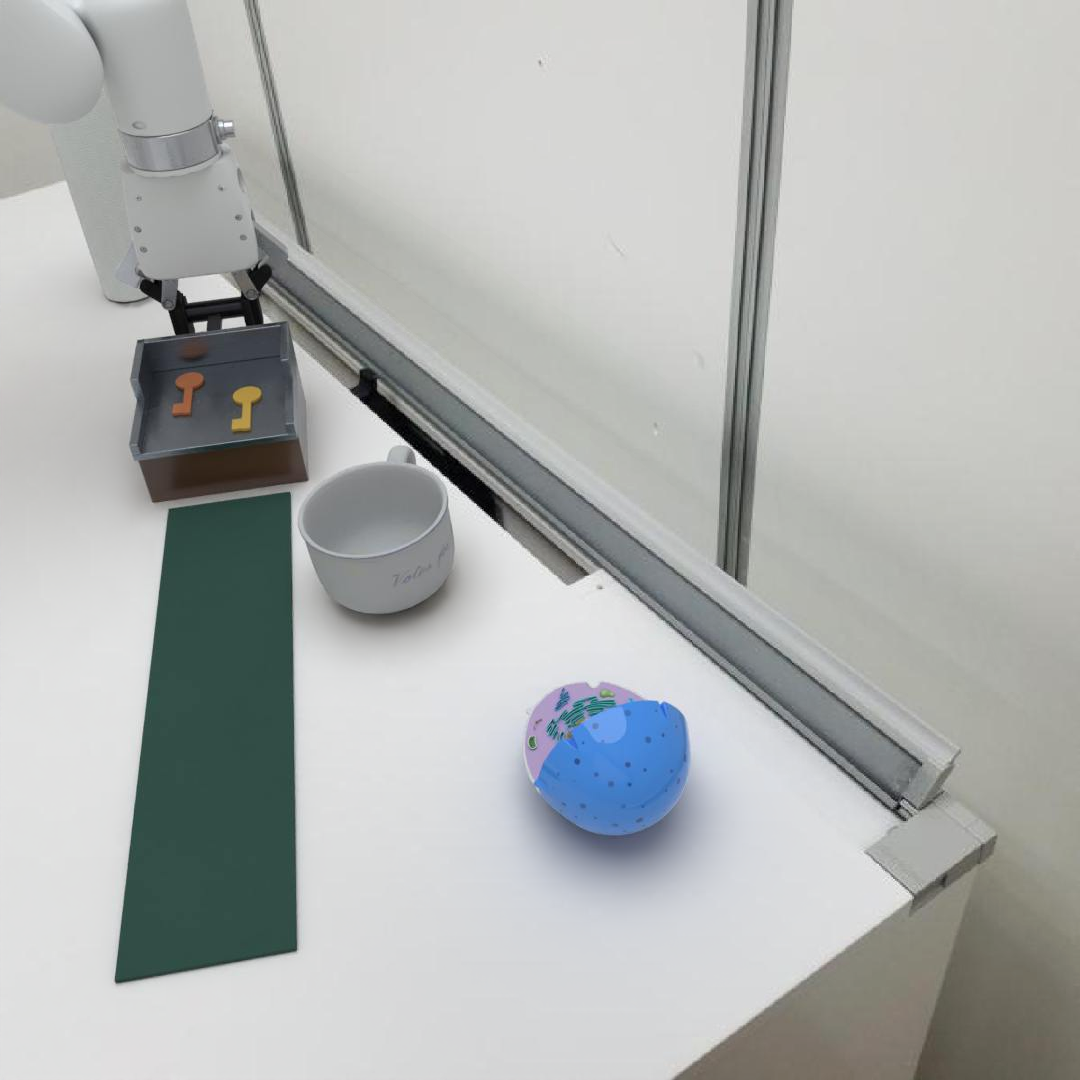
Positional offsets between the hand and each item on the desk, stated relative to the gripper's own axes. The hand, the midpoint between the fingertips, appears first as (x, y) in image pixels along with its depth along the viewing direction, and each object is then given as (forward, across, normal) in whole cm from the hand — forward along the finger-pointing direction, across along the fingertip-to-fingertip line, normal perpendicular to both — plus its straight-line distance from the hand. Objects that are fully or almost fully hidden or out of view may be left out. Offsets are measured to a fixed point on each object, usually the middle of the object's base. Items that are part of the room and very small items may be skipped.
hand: (222, 334), depth 105 cm
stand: (+6, 0, +10) cm, 12 cm away
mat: (+6, 0, +38) cm, 39 cm away
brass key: (0, -2, +12) cm, 13 cm away
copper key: (0, +2, +9) cm, 9 cm away
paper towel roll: (+6, +11, -23) cm, 26 cm away
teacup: (+6, -13, +29) cm, 32 cm away
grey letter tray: (+1, 0, +8) cm, 8 cm away
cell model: (+6, -24, +52) cm, 58 cm away
